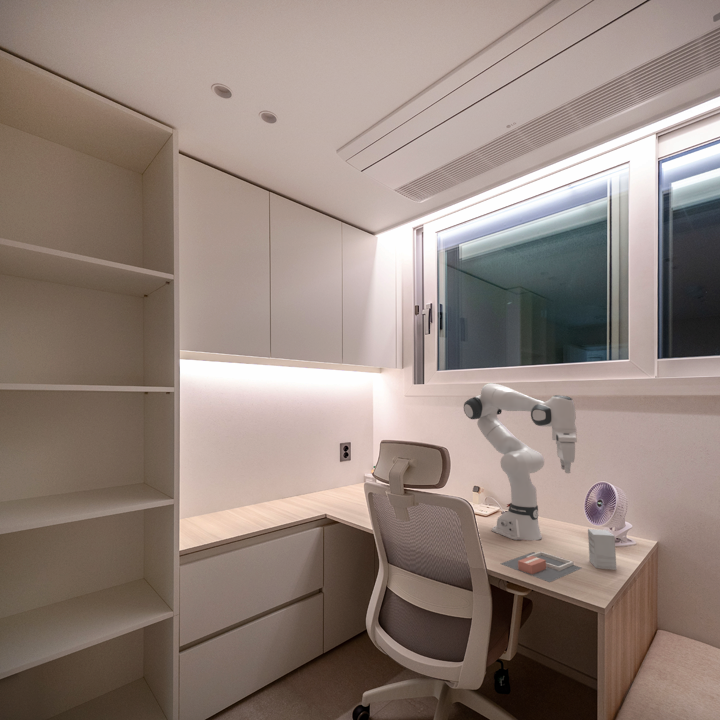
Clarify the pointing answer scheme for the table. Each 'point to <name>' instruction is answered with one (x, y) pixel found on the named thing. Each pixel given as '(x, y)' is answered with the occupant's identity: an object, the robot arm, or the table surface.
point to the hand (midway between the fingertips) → (565, 471)
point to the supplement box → (602, 549)
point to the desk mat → (547, 573)
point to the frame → (568, 563)
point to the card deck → (532, 564)
